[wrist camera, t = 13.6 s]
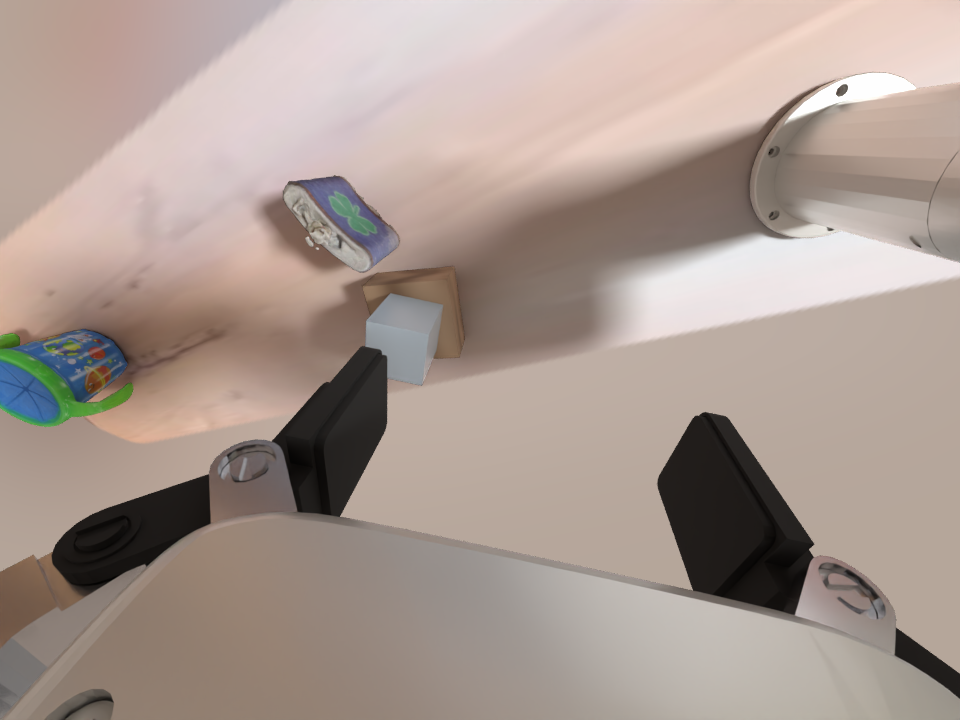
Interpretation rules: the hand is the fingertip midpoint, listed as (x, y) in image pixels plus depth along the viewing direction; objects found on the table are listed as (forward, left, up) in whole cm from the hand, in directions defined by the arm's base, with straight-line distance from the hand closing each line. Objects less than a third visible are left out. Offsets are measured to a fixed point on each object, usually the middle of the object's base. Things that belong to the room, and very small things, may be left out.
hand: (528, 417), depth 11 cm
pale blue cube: (+10, +11, -26) cm, 30 cm away
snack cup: (+55, +27, -31) cm, 69 cm away
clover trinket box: (+17, +2, -31) cm, 35 cm away
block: (+10, +11, -31) cm, 35 cm away
